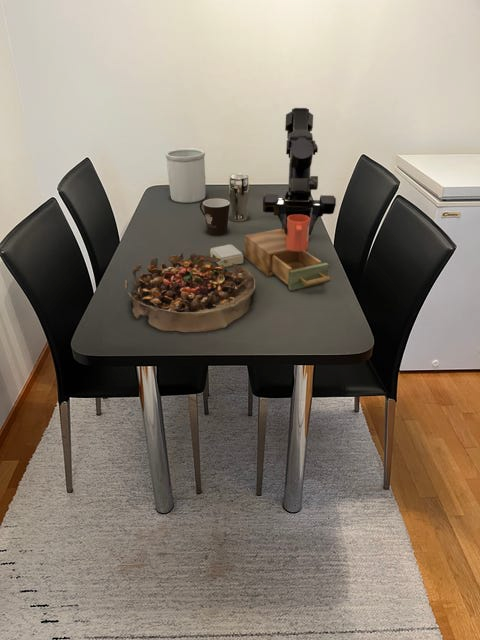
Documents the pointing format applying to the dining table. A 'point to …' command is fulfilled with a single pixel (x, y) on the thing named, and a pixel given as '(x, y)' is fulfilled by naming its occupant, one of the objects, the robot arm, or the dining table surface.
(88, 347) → the dining table surface
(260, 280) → the dining table surface
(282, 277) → the drawer
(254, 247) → the cabinet
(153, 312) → the food dish
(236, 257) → the kitchen scale
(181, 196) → the utensil holder
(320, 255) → the dining table surface
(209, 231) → the coffee mug
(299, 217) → the red mug
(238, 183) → the beer glass
